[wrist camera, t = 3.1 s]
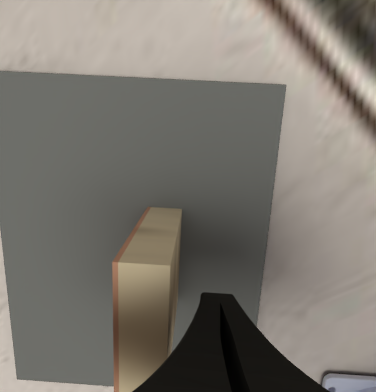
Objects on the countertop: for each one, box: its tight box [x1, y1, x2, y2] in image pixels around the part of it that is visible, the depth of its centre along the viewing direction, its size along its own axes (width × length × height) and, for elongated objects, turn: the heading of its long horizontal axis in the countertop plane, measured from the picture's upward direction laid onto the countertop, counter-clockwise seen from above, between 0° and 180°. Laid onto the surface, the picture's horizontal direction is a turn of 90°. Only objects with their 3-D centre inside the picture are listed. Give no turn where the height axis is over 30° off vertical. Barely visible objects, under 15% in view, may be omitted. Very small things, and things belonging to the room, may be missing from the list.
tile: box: [112, 207, 182, 392], centre depth 14 cm, size 6×2×7 cm, turn 177°
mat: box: [0, 71, 286, 386], centre depth 18 cm, size 20×16×1 cm
